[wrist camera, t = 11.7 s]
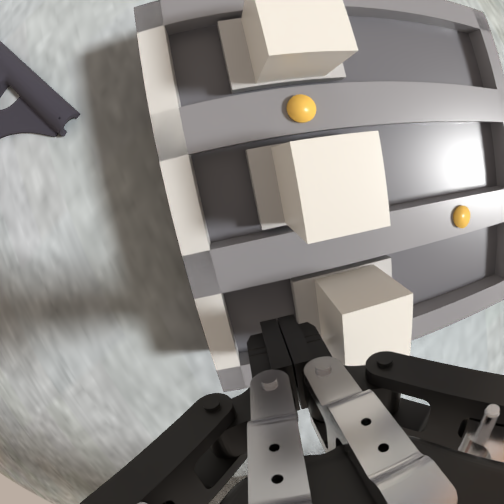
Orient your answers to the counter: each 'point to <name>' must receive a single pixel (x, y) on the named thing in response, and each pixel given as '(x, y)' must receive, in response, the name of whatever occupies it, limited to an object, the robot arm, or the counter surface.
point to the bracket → (30, 101)
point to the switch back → (356, 309)
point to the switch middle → (321, 185)
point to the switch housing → (327, 124)
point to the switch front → (286, 43)
